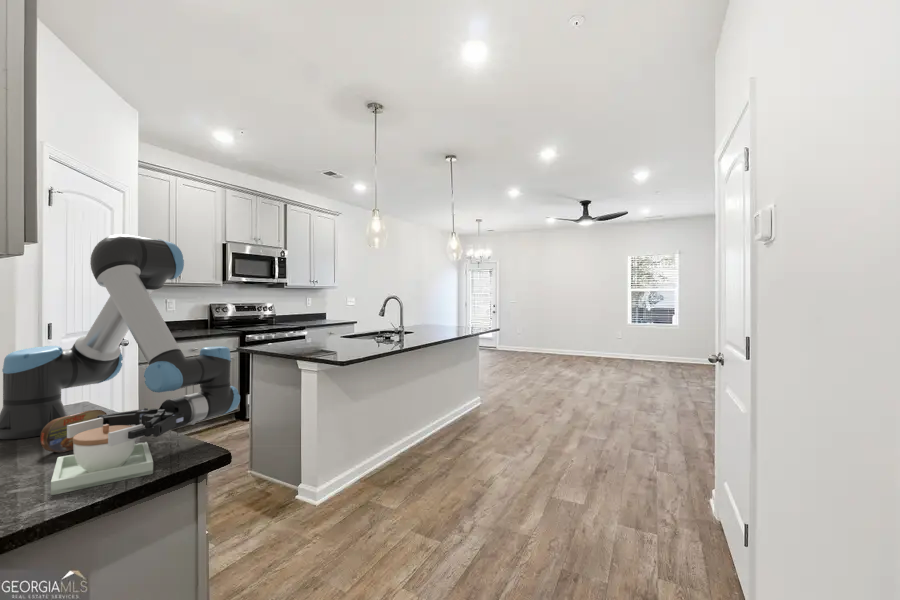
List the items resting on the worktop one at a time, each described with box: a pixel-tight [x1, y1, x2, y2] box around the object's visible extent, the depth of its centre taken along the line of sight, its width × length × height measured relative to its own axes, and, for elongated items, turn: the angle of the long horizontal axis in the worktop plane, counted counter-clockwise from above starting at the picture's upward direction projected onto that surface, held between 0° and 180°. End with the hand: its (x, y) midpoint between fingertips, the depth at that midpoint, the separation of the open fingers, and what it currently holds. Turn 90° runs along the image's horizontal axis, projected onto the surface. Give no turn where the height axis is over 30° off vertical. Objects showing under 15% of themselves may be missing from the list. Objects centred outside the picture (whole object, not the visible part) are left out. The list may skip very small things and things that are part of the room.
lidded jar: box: [72, 424, 136, 473], centre depth 90 cm, size 11×11×9 cm
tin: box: [39, 409, 108, 453], centre depth 106 cm, size 15×3×8 cm, turn 168°
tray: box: [50, 441, 154, 496], centre depth 90 cm, size 16×16×3 cm
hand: (87, 435), depth 87 cm, fingers open, 13 cm apart
